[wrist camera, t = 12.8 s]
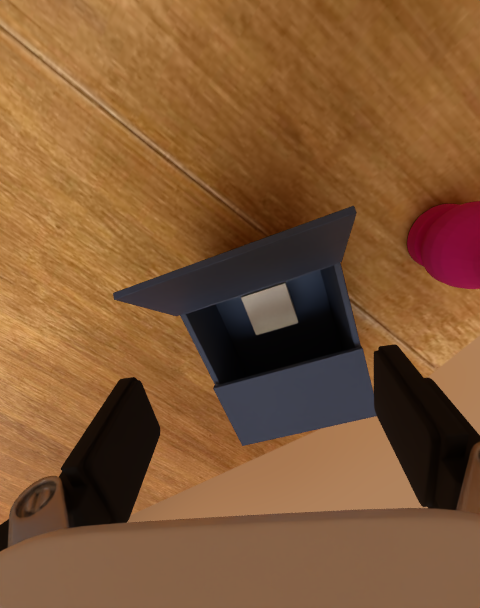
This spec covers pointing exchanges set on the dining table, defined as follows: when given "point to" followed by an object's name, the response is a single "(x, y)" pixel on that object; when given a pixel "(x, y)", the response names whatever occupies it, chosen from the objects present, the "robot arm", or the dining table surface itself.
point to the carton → (287, 361)
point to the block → (270, 308)
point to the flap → (246, 267)
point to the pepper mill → (449, 243)
